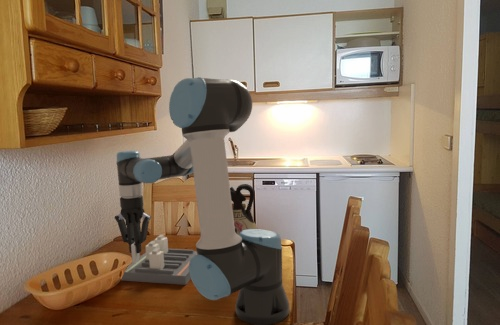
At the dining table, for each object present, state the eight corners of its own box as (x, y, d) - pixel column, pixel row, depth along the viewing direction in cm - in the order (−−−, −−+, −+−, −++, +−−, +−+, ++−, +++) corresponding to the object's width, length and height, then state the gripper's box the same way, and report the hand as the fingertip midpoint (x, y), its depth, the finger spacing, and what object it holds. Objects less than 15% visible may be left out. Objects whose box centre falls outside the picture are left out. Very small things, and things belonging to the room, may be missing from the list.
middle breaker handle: (156, 261, 134) (155, 243, 133) (146, 261, 134) (145, 243, 134) (160, 258, 137) (159, 241, 136) (150, 258, 137) (149, 240, 137)
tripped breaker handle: (160, 270, 126) (159, 251, 125) (150, 270, 127) (148, 251, 126) (164, 267, 129) (163, 248, 128) (154, 266, 130) (152, 248, 129)
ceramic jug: (215, 266, 136) (211, 187, 132) (227, 251, 150) (224, 179, 147) (260, 269, 131) (257, 187, 128) (268, 253, 146) (266, 179, 142)
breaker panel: (185, 284, 122) (185, 273, 121) (120, 280, 127) (119, 269, 126) (207, 259, 143) (206, 249, 142) (150, 256, 148) (150, 246, 148)
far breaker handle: (164, 254, 140) (163, 237, 140) (155, 254, 141) (154, 237, 140) (168, 251, 143) (167, 234, 142) (158, 251, 144) (157, 234, 143)
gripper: (153, 193, 128) (158, 258, 131) (120, 193, 131) (125, 256, 134) (143, 198, 121) (148, 266, 124) (107, 198, 124) (113, 264, 127)
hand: (136, 261), depth 129 cm, fingers closed
